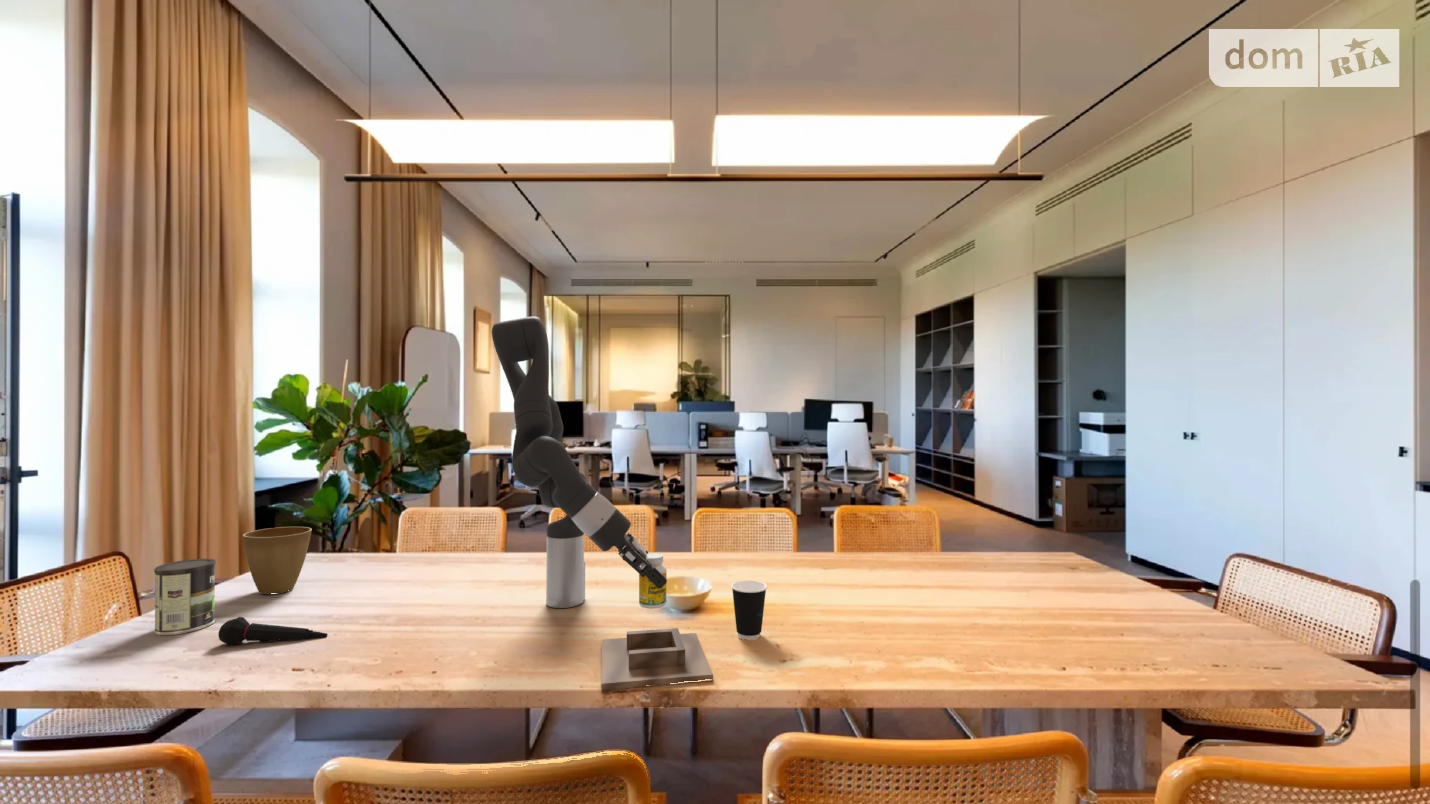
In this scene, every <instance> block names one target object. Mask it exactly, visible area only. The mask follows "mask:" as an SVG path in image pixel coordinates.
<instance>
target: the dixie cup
mask: <svg viewBox="0 0 1430 804" xmlns="http://www.w3.org/2000/svg"><path fill="white" fill-rule="evenodd" d="M730 587H731V589H732V590H731V591H732V599H733V609H734V618H735V628H736V629H735V631H736V633H737V637H738V636H739V637H741V638H742V639H741V638H740V639H741V640H744V639H747V640H746V641H754V640H753V639H755V640H758V639H759V638H760V637H761V633H762V628H763V618H764V610H765V600H766V593H767V592H766V591H767V589H768V585H767V584H766V583H764V582H762V581H759V580H751V579H748V580H747V579H746V580H739V581H737V580H736V581H735V582H733V583H731V585H730ZM739 637H738V638H739ZM758 637H759V638H758ZM757 638H758V639H757ZM751 639H752V640H751Z"/></svg>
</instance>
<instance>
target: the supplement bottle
mask: <svg viewBox="0 0 1430 804" xmlns="http://www.w3.org/2000/svg"><path fill="white" fill-rule="evenodd" d="M647 556H648V557H647V559H648V560H649V562H650V563H651V564H653V565H654V567H655V568H656V569H657V570H658V571H659V572H660V573H661V574H662V575H663V576H664V577H665V578H666V579H667V567H666V566H665V565H664V564H663V562H664V555H663V554H661V553H656V552H655V553H649V554H647ZM643 564H644V563H643ZM645 566H646V565H645V564H644V565H643V566H640V567H641V568H642V569H643V568H644V567H645ZM638 578H639V579H638V586H639V587H638V592H639V593H638V595H639V596H638V603H639V606H640V607H641V608H643V609H650V610H651V609H652V610H653V609H654V610H655V609H661V608H663V607H664V606H666V604H667V583H666V584H665V585H664V586H663V587H662V588H660V589H659V588H658V587H657V586H656V585H655V584H653V583H652V582H651V581H650V580H649V579H648V578H647V577H645V576H644V577H642V576H641V575H640V574H639V573H638Z"/></svg>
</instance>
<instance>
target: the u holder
mask: <svg viewBox="0 0 1430 804" xmlns="http://www.w3.org/2000/svg"><path fill="white" fill-rule="evenodd" d="M704 651H705V650H704V649H703V646H702V644H701V642H700V640H699V637H698V634H697V632H689V633H680V630H679V628H678V627H676V628H673V627H672V628H661V629H646V630H645V629H644V630H627V631H626V637H617V638H605V639H602V638H601V671H600V672H601V675H600V676H601V680H600V681H601V688H600V689H601V690H600V691H610V690H611V691H613V690H626V689H634V688H633V687H637V688H643V687H642V686H646V685H661V686H665V685H664V684H670V683H678V682H684V681H698V680H705V679H713V680H714V673H713V671H712V668H711V666H710V664H709V661H708V659H707V657H706V654H705V652H704Z"/></svg>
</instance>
